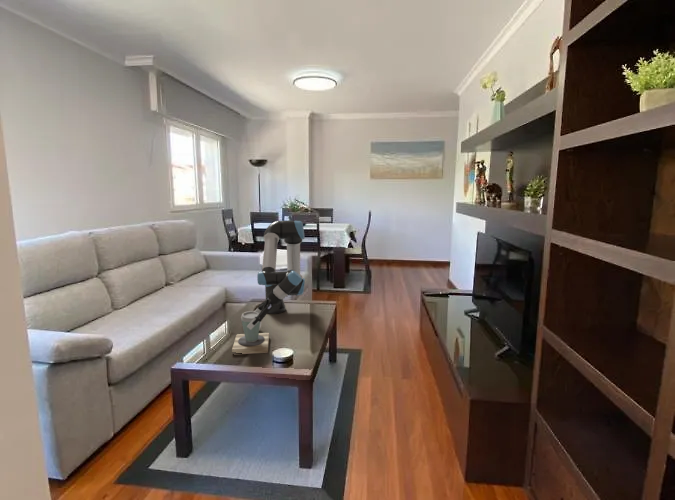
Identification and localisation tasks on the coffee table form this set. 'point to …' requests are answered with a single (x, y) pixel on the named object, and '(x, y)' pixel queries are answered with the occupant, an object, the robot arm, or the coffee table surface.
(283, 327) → the coffee table surface
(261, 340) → the birch riser
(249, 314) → the disposable coffee cup
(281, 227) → the robot arm
